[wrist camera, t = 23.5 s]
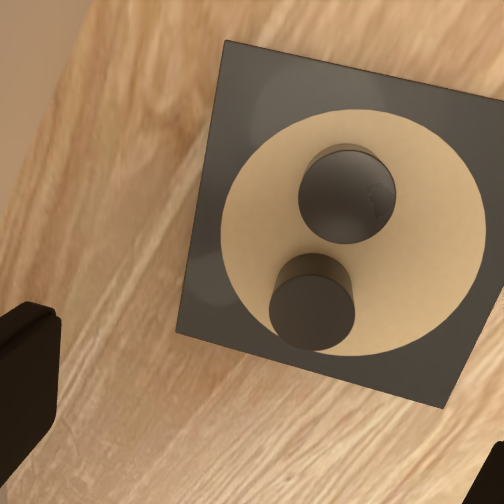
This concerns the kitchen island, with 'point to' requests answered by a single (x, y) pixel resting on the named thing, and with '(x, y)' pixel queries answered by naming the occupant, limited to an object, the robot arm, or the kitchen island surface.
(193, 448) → the kitchen island surface
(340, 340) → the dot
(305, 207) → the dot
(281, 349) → the face board
